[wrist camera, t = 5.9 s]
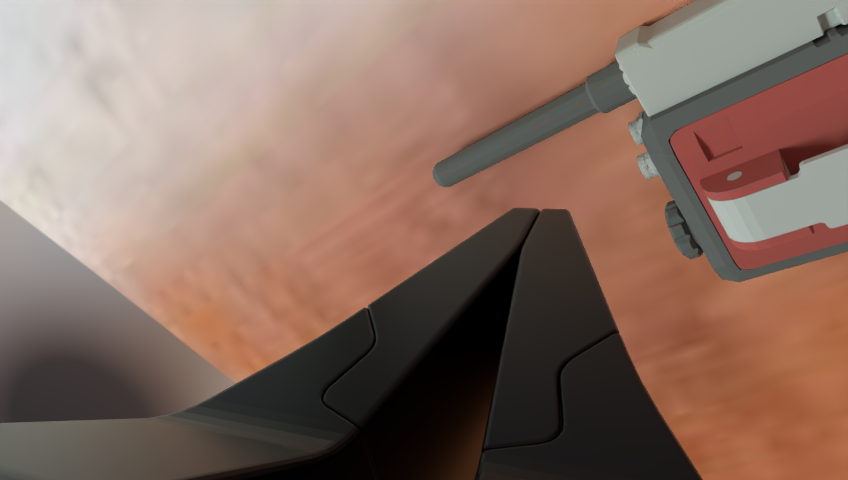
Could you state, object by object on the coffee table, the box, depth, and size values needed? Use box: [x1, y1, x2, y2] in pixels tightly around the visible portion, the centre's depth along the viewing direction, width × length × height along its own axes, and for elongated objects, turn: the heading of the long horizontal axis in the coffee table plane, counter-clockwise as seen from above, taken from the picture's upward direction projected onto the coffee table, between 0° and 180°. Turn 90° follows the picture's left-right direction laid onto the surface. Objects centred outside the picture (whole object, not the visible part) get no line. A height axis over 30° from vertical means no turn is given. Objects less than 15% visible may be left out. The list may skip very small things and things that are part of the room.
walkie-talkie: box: [433, 0, 848, 282], centre depth 17 cm, size 9×4×20 cm
